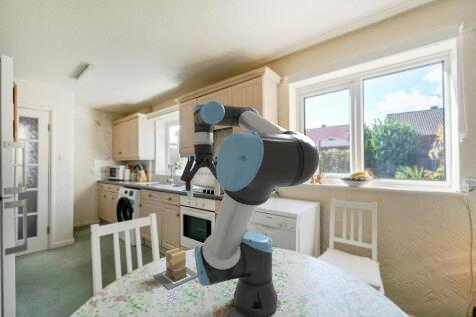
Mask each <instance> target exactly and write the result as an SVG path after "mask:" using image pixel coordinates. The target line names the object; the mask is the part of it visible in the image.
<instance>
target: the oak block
mask: <svg viewBox="0 0 476 317" xmlns="http://www.w3.org/2000/svg"><path fill="white" fill-rule="evenodd" d="M186 252H187V251H186V250H184V249H182V248H180V247H177V248H173V249H169V250H167V251H165V267H166V266H167V267H168V268H170V269H171V270H172V271H174V270H176V269H179V268H181V267H184V266H186V265H187V264H186V263H187V259H186V257H187V255H186V254H187V253H186ZM186 267H187V266H186Z"/></svg>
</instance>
